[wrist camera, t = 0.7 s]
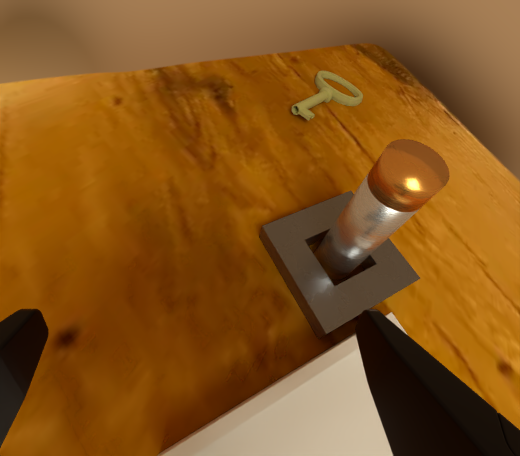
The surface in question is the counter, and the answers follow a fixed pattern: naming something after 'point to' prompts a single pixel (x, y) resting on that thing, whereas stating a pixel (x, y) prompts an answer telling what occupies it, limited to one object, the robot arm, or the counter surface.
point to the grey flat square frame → (315, 278)
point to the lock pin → (382, 205)
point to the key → (327, 95)
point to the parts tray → (300, 414)
